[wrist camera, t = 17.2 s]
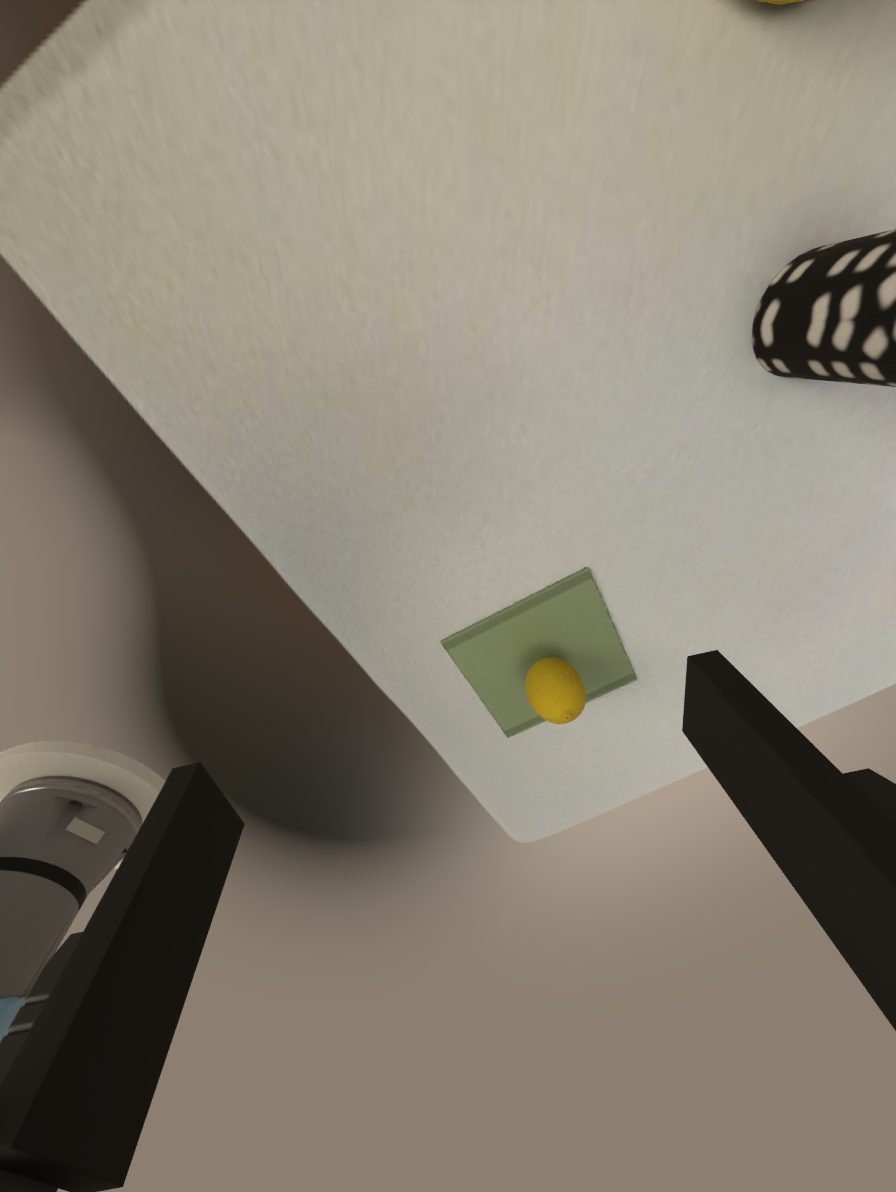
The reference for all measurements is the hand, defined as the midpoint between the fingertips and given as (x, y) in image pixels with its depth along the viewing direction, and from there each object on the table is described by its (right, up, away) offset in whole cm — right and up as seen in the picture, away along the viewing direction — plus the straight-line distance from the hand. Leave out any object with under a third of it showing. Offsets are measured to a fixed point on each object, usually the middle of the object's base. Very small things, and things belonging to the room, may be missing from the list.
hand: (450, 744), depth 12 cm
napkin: (+10, -3, +36) cm, 37 cm away
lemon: (+10, -3, +36) cm, 37 cm away
